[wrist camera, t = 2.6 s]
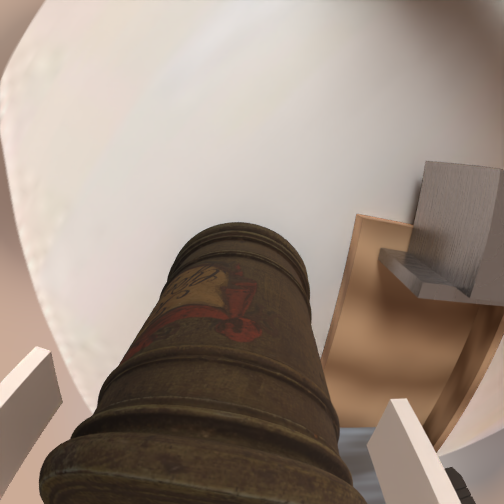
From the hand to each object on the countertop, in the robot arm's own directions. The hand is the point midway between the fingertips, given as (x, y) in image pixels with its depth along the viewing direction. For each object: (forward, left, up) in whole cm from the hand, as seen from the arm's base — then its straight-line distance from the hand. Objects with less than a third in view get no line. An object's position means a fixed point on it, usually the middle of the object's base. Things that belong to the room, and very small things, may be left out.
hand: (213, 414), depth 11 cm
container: (0, 0, -12) cm, 12 cm away
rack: (+5, +14, -12) cm, 19 cm away
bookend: (-7, +14, -10) cm, 19 cm away
